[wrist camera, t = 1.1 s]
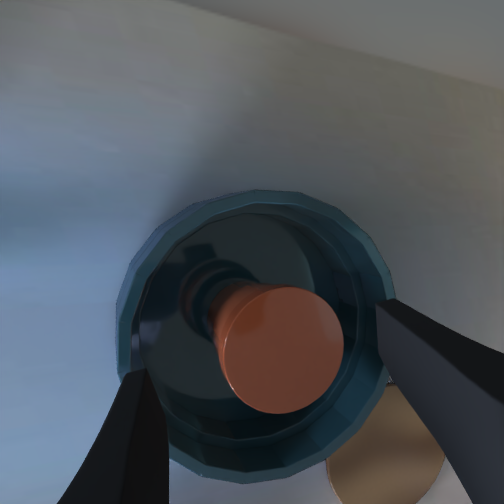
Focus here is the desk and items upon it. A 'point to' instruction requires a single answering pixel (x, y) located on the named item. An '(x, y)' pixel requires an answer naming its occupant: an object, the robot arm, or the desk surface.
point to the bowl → (202, 347)
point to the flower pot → (275, 344)
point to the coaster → (386, 456)
